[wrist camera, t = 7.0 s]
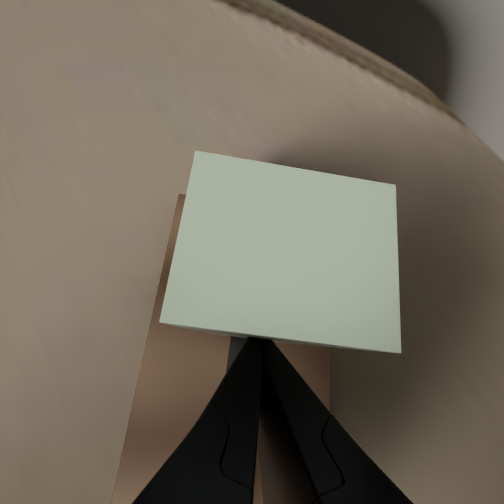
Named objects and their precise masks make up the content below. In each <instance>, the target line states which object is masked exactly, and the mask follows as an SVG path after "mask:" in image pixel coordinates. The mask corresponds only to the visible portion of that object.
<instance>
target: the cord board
mask: <svg viewBox="0 0 504 504" xmlns="http://www.w3.org/2000/svg"><path fill="white" fill-rule="evenodd" d="M185 198H186V195H183V194H179V196H178V201H177V205H176V210H175V214H174V219H173V224H172V228H171V233H170V237H169V242H168V246H167V251H166V255H165V260H164V264H163V269H162V273H161V278H160V282H159V287H158V292H157V296H156V301H155V305H154V310H153V314H152V319H151V323H150V328H149V332H148V337H147V341H146V346H145V350H144V355H143V360H142V364H141V369H140V373H139V378H138V382H137V387H136V391H135V396H134V400H133V405H132V409H131V414H130V419H129V423H128V428H127V432H126V437H125V441H124V446H123V450H122V455H121V459H120V464H119V468H118V473H117V477H116V482H115V487H114V491H113V496H112V500H111V504H132V502H133V501H134V500H135V499H136V497H137V496H138V495H139V494H140V492H141V491H142V490H143V489H144V487H145V486H146V485H147V484H148V483H149V481H150V480H151V479H152V478H153V476H154V475H155V474H156V473H157V471H158V470H159V469H160V468H161V466H162V465H163V464H164V463H165V461H166V460H167V459H168V458H169V457H170V455H171V454H172V453H173V452H174V450H175V449H176V448H177V447H178V445H179V444H180V443H181V442H182V440H183V439H184V438H185V436H186V435H187V434H188V432H189V431H190V430H191V428H192V427H193V426H194V424H195V423H196V421H197V420H198V418H199V417H200V415H201V414H202V412H203V411H204V409H205V407H206V406H207V404H208V402H209V401H210V399H211V398H212V396H213V394H214V393H215V391H216V389H217V388H218V386H219V384H220V382H221V381H222V379H223V377H224V376H225V374H226V372H227V371H228V369H229V367H230V366H231V364H232V362H233V361H234V359H235V357H236V356H237V354H238V352H239V350H240V349H241V347H242V345H243V344H244V342H245V340H246V339H247V338H243V337H235V336H227V335H225V336H224V335H216V334H209V333H203V332H195V331H191V330H187V329H183V328H179V327H175V326H171V325H167V324H164V323H160V322H159V320H160V316H161V311H162V306H163V301H164V297H165V292H166V287H167V283H168V278H169V273H170V268H171V264H172V259H173V254H174V250H175V245H176V240H177V235H178V231H179V226H180V221H181V217H182V212H183V207H184V202H185ZM274 343H275V344H276V345H277V347H278V348H279V349H280V350H281V352H282V353H283V354H284V355H285V357H286V358H287V359H288V360H289V362H290V363H291V364H292V365H293V367H294V368H295V369H296V370H297V372H298V373H299V374H300V375H301V377H302V378H303V379H304V380H305V382H306V383H307V384H308V385H309V387H310V388H311V389H312V390H313V392H314V393H315V394H316V395H317V397H318V398H319V399H320V400H321V402H322V403H323V404H324V405H325V407H326V408H327V409H328V410H330V382H331V354H332V347H320V346H308V345H298V344H290V343H280V342H274ZM253 493H254V495H253V504H263V495H262V485H261V474H260V464H259V453H258V443H257V454H256V468H255V481H254V491H253Z"/></svg>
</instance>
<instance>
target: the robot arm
mask: <svg viewBox="0 0 504 504" xmlns="http://www.w3.org/2000/svg"><path fill="white" fill-rule="evenodd" d="M330 414H331V413H330V412H329V410H328V409H327V408H326V407H325V405H324V404H323V403H322V402H321V400H320V399H319V398H318V397H317V395H316V394H315V393H314V392H313V390H312V389H311V388H310V387H309V385H308V384H307V383H306V382H305V380H304V379H303V378H302V377H301V375H300V374H299V373H298V372H297V370H296V369H295V368H294V367H293V365H292V364H291V363H290V362H289V360H288V359H287V358H286V357H285V355H284V354H283V353H282V352H281V350H280V349H279V348H278V347H277V345H276V344H275V343H274V342H273V340H270V339H262V338H260V339H259V338H254V337H247V339H246V340H245V342H244V344H243V345H242V347H241V349H240V350H239V352H238V354H237V356H236V357H235V359H234V361H233V362H232V364H231V366H230V367H229V369H228V371H227V372H226V374H225V376H224V377H223V379H222V381H221V382H220V384H219V386H218V388H217V389H216V391H215V393H214V394H213V396H212V398H211V399H210V401H209V402H208V404H207V406H206V407H205V409H204V411H203V412H202V414H201V415H200V417H199V418H198V420H197V421H196V423H195V424H194V426H193V427H192V428H191V430H190V431H189V432H188V434H187V435H186V436H185V438H184V439H183V440H182V442H181V443H180V444H179V445H178V447H177V448H176V449H175V450H174V452H173V453H172V454H171V455H170V457H169V458H168V459H167V460H166V461H165V463H164V464H163V465H162V466H161V468H160V469H159V470H158V471H157V473H156V474H155V475H154V476H153V478H152V479H151V480H150V481H149V483H148V484H147V485H146V486H145V487H144V489H143V490H142V491H141V492H140V494H139V495H138V496H137V497H136V499H135V500H134V501H133V502H132V504H253V495H254V493H253V491H254V481H255V468H256V454H257V443H258V453H259V464H260V474H261V485H262V495H263V504H413V503H412V502H411V501H410V500H409V499H408V498H407V497H406V495H405V494H404V493H403V492H402V491H401V490H400V489H399V488H398V487H397V486H396V485H395V484H394V483H393V482H392V481H391V480H390V479H389V478H388V477H387V475H386V474H385V473H384V472H383V471H382V470H381V469H380V468H379V467H378V466H377V465H376V464H375V463H374V462H373V461H372V460H371V459H370V458H369V456H368V455H367V454H366V453H365V452H364V451H363V450H362V449H361V448H360V447H359V446H358V444H357V443H356V442H355V441H354V440H353V439H352V438H351V436H350V435H349V434H348V433H347V432H346V431H345V429H344V428H343V427H342V426H341V425H340V423H339V422H338V421H337V420H336V418H335V417H334V416H333V415H332V414H331V415H330Z"/></svg>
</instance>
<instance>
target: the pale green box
mask: <svg viewBox="0 0 504 504" xmlns="http://www.w3.org/2000/svg"><path fill="white" fill-rule="evenodd" d="M159 322H160V323H164V324H167V325H171V326H175V327H179V328H183V329H187V330H191V331H195V332H203V333H209V334H216V335H224V336H225V335H227V336H235V337H243V338H247V337H254V338H259V339H260V338H262V339H270V340H273V342H280V343H290V344H298V345H308V346H320V347H332V348H344V349H355V350H367V351H379V352H390V353H401V328H400V298H399V268H398V238H397V208H396V185H393V184H387V183H381V182H376V181H370V180H364V179H358V178H352V177H347V176H341V175H335V174H329V173H323V172H318V171H312V170H306V169H300V168H294V167H289V166H283V165H277V164H271V163H265V162H260V161H254V160H248V159H242V158H236V157H230V156H225V155H219V154H213V153H207V152H201V151H195V155H194V160H193V165H192V169H191V174H190V179H189V184H188V188H187V193H186V198H185V202H184V207H183V212H182V217H181V221H180V226H179V231H178V235H177V240H176V245H175V250H174V254H173V259H172V264H171V268H170V273H169V278H168V283H167V287H166V292H165V297H164V301H163V306H162V311H161V316H160V320H159Z"/></svg>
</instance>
